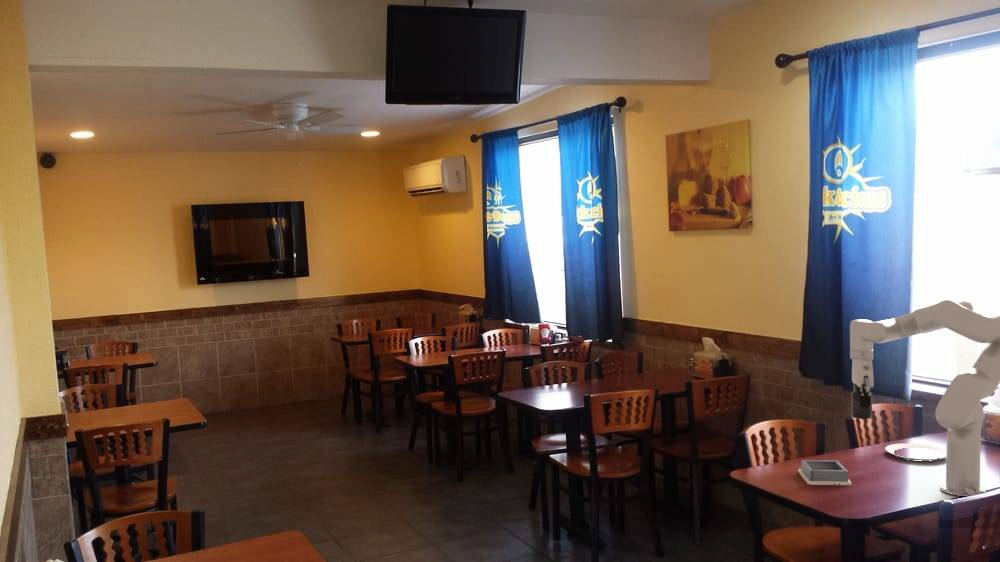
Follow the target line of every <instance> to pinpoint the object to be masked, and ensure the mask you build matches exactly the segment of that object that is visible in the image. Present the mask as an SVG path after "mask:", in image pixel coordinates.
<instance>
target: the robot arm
mask: <svg viewBox="0 0 1000 562" xmlns="http://www.w3.org/2000/svg"><path fill="white" fill-rule="evenodd" d="M973 307H974V306H973V305H972V303H971V302H970V301H969V300H968V299H965V298H963V297H951V298H947V299H942V300H940V301H938V302H936V303H932V304H928V305H925V306H921V307H918V308H916V309H914V311H913V312H910V313H907V314H904V315H901V316H897V317H893V318H890V319H883V320H879V321H872V320H869V319H863V318H862V319H860V318H859V319H853V320H851V321H850V324H849V345H850V346H849V347H850V348H849V358H850V359H851V360H852V362H851V382H852V383H853V385H854V384H856V385H857V386H858V387H860V391H861V395H860V406H861V407H870V392H871V389H872V388H874V387H875V385H874V383H875V382H874V367H873V366H874V365H873V360H874V344H884V343H888V342H892V341H896V340H898V341H899V340H900V339H905V338H908V337H911V336H915V335H920V334H928V333H931V332H935V331H938V330H941V329H948V330H949V331H951V332H953V333H956V334H957V335H960V336H962V337H964V338H966V339H969V340H971V341H973V342H976V343H980V344H987V345H986V346H985V348H983V350H982V351H981V353H980V355H979V356H978V358H977V360H976V361H975V363H974V364H973V366H972V367H971V368H970V369H968V370H965V371H962V372H960V373H959V374H957V375H956V376H955V377H954V378H953V379H952V380H951V382H950V384H949V385H948V387H947V389H946V390H945V392H944V393H943V395H942V397H941V398H940V400H939V401H938V403H937V405H936V407H935V418H936V421H937V423H938V424H939V425H940V426H941V427H942V428H945V429H947V430H946V431H947V432H946V446H945V447H946V448H945V449H946V450H945V451H946V457H945V458H946V461H945V463H946V465H945V468H946V469H945V471H946V472H945V482H944V483H941V484H940V490H941V489H943V490H944V491H946V492H949V493H952V494H955V495H959V496H965V495H974V494H976V493H980V492H985V493H986V489H985V488H983V487H981V445H982V443H981V442H982V441H981V439H982V438H981V437H982V429H983V421H984V415H985V414H984V408H983V404H982V403H981V400H985V399H986V398H988V397H990V396H993V394H994V393H995V392H996V390H997V388H998V386H999V384H1000V312H993V313H992V312H991V313H987V314H980V313H979V312H977V311H974V308H973ZM862 385H865V386H862ZM863 389H864V391H863ZM854 390H855V389H854V388H853V391H854ZM959 496H958V497H959Z"/></svg>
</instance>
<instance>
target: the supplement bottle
mask: <svg viewBox="0 0 1000 562" xmlns="http://www.w3.org/2000/svg"><path fill="white" fill-rule="evenodd" d="M862 386H865V385H862ZM854 389H855V390H854ZM863 391H864V389H863ZM850 395H851V397H850V398H851V399H850V400H851V401H850V402H851V403H850V404H851V407H850V408H851V410H850V412H851V413H850V414H851V417H852V418H854V419H859V420H870V419H872V417H873V393H872V392H871V391H870V407H861V406H860V395H861V391H860V387H858V386H857V385H856V384H854V383H853V391H851V393H850Z"/></svg>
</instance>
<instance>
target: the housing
mask: <svg viewBox="0 0 1000 562" xmlns="http://www.w3.org/2000/svg"><path fill="white" fill-rule="evenodd" d="M800 461H801V463H800V468H798V471H797V472H798V474H800V476H801V477H802V479H803V480H804V481H805V482H807V483H806V484H807V485H808V484H809V485H810V486H811V485H817V486H819V485H821V486H826V485H827V486H852V481H851V480H850V479H849V471H848V469H846V468H845V466H844V465H843V464H842V463H841V462H840V461H839V460H838V459H837V460H832V459H831V460H830V459H829V460H827V459H826V460H824V459H822V460H818V459H817V460H816V459H814V460H813V459H802V460H800ZM834 484H835V485H834ZM839 484H840V485H839Z"/></svg>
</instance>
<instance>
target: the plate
mask: <svg viewBox="0 0 1000 562" xmlns="http://www.w3.org/2000/svg"><path fill="white" fill-rule="evenodd" d="M916 447H917V448H928V449H933V450H936V451H939V452H941V453H942V454H943V457H942V458H939V459H938V460H941V459H945V458H946V450H945V449H942V448H940V447H936V446H932V445H927V444H920V443H907V442H906V443H902V442H901V443H892V444H889V445H886V446H885V448H884V449H885V451H886V452H887V453H889V454H891V455H894V456H895V457H897V458H899V457H900V458H899V459H901V458H904V459H903V460H905V459H909V460H908V461H910V460H922V461H929V460H936V461H938V460H937V459H916V458H908V457H903V456H899V455H895V454H894V451H895V450H898V449H902V448H916Z"/></svg>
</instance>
